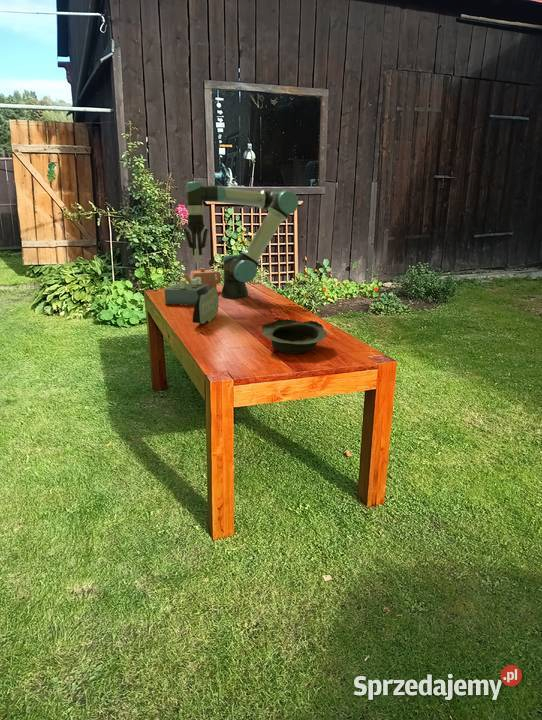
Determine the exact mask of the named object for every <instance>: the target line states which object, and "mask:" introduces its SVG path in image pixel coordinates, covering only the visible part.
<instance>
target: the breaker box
mask: <svg viewBox="0 0 542 720" xmlns="http://www.w3.org/2000/svg"><path fill="white" fill-rule="evenodd" d="M163 290H164V302H165V303H164V304H165V305H166V304H187V305H186V306H191V305H196V302H197V300H198V298H199V296H200V295H204V294H205V293H206V292H207V290H209V284H201V277H196V278H194V279H192V280H191V284H189V283H186V288H184V289H180V287H179V282H177V283H176V284H172V285H171V286H169V287H167V288H165V289H163Z"/></svg>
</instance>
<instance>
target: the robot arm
mask: <svg viewBox="0 0 542 720" xmlns="http://www.w3.org/2000/svg"><path fill="white" fill-rule="evenodd" d="M186 199H187V200H186V201H187V202H186V203H187V214H188V215H187V220H188V224H187V227H185V228H183V231H184V233H185V237H186V240H187V244H188V247H189V248H191V249H192V255H193V256H194V262H195V263H200V262H201V256H203V248H206V246H207V244H206V243H207V239H208V238H207V237H208V232H209V231H210V228H208V227H206V226H205V223H204V215H203V213H204V206H203V205H204V204H203V202H209V203H210V202H213V203H224V204H233V205H239V206H240V205H241V206H249V207H258V208H259V209H260V210H266V211H268V213H267V214H266V215H265V218H264V219H263V221H262V223H261V224H260V226H259V228H257V231H256V232H255V234H254V236H253V237H252V239H251V241H250V243H248V246H247V247H246V248H245V250H244V251H241V252H240V253H239V254H229V255H224V256H223V261H222V263H223V281H224V282H223V286H222V289H221V297H222V298H224V299H243V298H247V297H249V290H248V288H247V285H246V283H248V282H249V283H250V282H251V281H252V280H254V279H255V278H256V276H257V274H258V267H259V265H260V258H261V256H262V255H263V253H264V252H265V250H266V249H267V247H268V245H269V243H270V242H271V241H272V238H273V237H274V236H275V234H276V232H277V231H278V229H279V227H280V226H281V224H282V222H284V221H287V219H288V218H289V217H290V215H291V214H293V213H295V212H296V211H297V209H298V207H299V200H298V199H299V197H298V196H297V194H295V192H294V191H292V190H288V189H284V190H281V189H280V190H279V189H277V190H260V192H258V191H252V190H244V189H243V190H242V189H235V188H227V187H225V186H224V185H203V182H202V181H189V182H187V183H186ZM202 231H203V236H202ZM190 232H191V234H190Z"/></svg>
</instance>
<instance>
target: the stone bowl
mask: <svg viewBox="0 0 542 720" xmlns="http://www.w3.org/2000/svg"><path fill="white" fill-rule="evenodd" d="M260 329H261V332H262V335H263V336H264V337H266V338H268V339H269V340H270V341H271V346H272V348H273V349H274V350H275V352H276V351H277V352H282V353H286V354H287V355H292V354H296V355H297V354H304V353H306V352H308V351H310V350H313V349H314V348H315V347H316V345H317V344H318V343H319V342H322V341H323V340H324V339H325V338H327V337H328V332H327V330H325V329H324V326H323V325H322V323H320V322H318V321H315V320H314V321H313V320H309V321H303V322H302V321H300V320H294V319H289V318H287V319H280V318H279V319H277V320H276V321H272V322H267V323H265V324H262V325H261V326H260Z"/></svg>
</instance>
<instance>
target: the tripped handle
mask: <svg viewBox="0 0 542 720" xmlns="http://www.w3.org/2000/svg"><path fill="white" fill-rule="evenodd" d="M178 283H179V287H180V289H184V288H186V284H187V280H186V279H180V280H179V281H178Z"/></svg>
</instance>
